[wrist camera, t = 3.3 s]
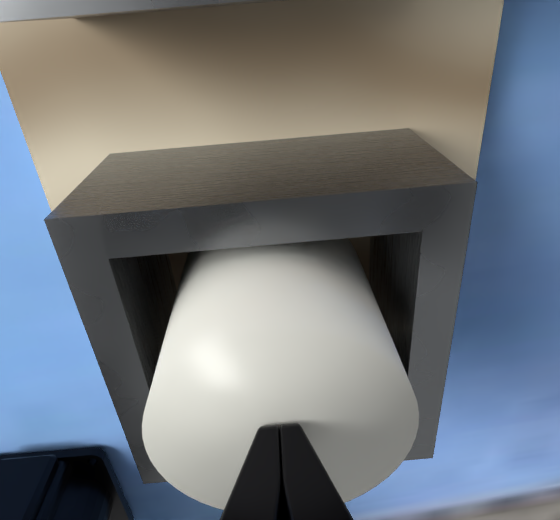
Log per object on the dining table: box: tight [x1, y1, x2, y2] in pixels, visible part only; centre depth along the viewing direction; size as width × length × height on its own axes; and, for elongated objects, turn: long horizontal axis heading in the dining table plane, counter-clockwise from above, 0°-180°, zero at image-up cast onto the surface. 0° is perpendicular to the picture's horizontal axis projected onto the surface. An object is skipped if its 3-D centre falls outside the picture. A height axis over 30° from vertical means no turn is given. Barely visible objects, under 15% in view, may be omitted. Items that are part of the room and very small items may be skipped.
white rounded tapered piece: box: [142, 238, 419, 510], centre depth 11 cm, size 6×6×6 cm
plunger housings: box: [0, 0, 477, 484], centre depth 10 cm, size 21×9×4 cm, turn 4°
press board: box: [0, 0, 504, 290], centre depth 12 cm, size 22×13×2 cm, turn 4°
